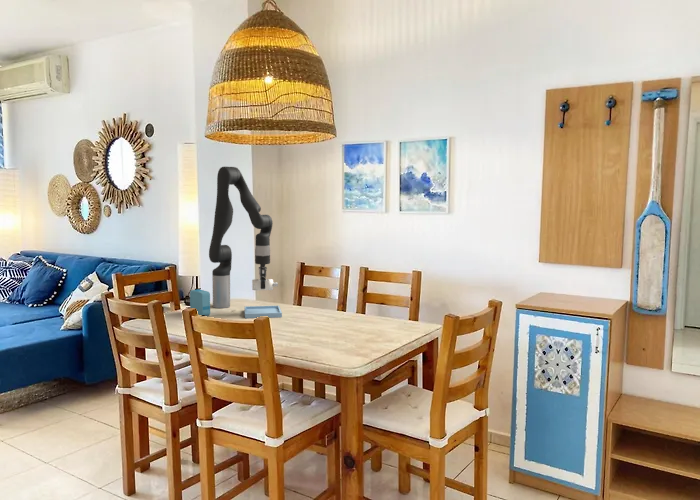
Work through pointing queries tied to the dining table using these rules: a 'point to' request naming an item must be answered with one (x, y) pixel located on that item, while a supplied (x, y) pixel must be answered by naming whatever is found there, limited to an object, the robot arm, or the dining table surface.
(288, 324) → the dining table surface
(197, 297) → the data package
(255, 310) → the blue tray
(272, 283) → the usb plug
